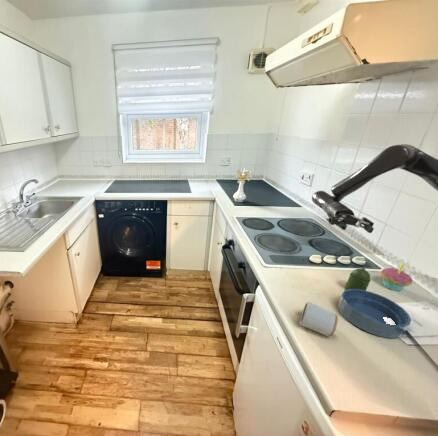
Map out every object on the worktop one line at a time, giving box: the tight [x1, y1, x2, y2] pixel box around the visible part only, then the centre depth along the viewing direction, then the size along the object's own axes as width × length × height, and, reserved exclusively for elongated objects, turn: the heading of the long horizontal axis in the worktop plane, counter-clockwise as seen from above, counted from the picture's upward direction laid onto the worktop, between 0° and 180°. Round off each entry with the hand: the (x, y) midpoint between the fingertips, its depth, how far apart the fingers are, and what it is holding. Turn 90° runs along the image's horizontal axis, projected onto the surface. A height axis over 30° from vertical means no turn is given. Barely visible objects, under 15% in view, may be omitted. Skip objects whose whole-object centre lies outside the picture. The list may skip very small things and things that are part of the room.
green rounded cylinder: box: [344, 267, 371, 291], centre depth 87 cm, size 6×6×10 cm
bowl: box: [337, 289, 412, 339], centre depth 76 cm, size 16×16×5 cm
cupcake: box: [379, 262, 413, 292], centre depth 89 cm, size 9×8×12 cm
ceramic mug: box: [299, 301, 339, 337], centre depth 73 cm, size 11×8×8 cm
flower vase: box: [232, 167, 253, 203], centre depth 180 cm, size 13×18×25 cm
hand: (358, 229), depth 90 cm, fingers open, 8 cm apart
